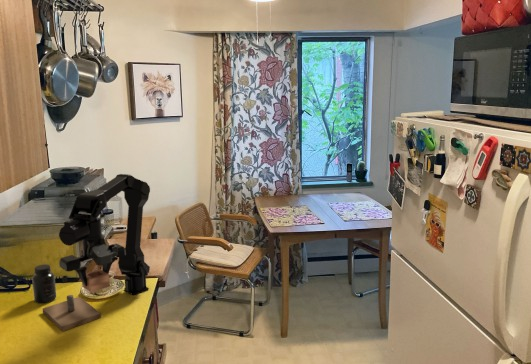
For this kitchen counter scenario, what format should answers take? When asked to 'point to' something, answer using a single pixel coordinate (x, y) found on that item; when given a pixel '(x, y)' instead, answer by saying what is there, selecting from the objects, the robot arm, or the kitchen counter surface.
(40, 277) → the supplement bottle
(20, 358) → the kitchen counter surface
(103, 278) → the brown hollow square block
